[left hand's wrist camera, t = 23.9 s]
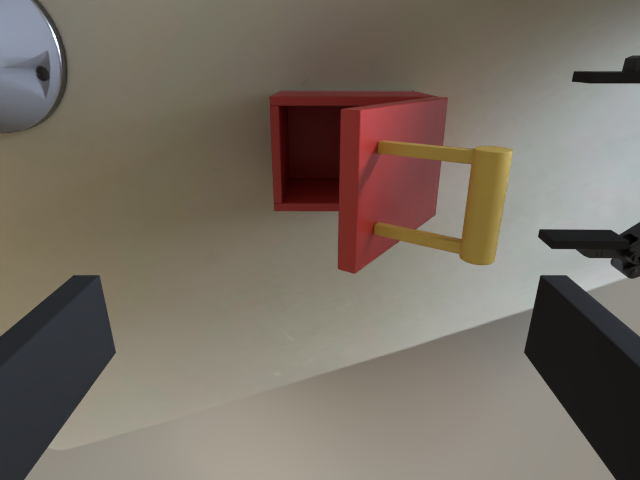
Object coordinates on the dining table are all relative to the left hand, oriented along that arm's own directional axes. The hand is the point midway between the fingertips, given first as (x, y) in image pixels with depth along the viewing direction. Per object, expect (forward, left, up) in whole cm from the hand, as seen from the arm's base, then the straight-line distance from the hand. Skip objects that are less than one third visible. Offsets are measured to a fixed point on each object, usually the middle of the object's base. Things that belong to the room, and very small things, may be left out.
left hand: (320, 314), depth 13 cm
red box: (+2, -1, -36) cm, 36 cm away
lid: (+5, -2, -19) cm, 20 cm away
